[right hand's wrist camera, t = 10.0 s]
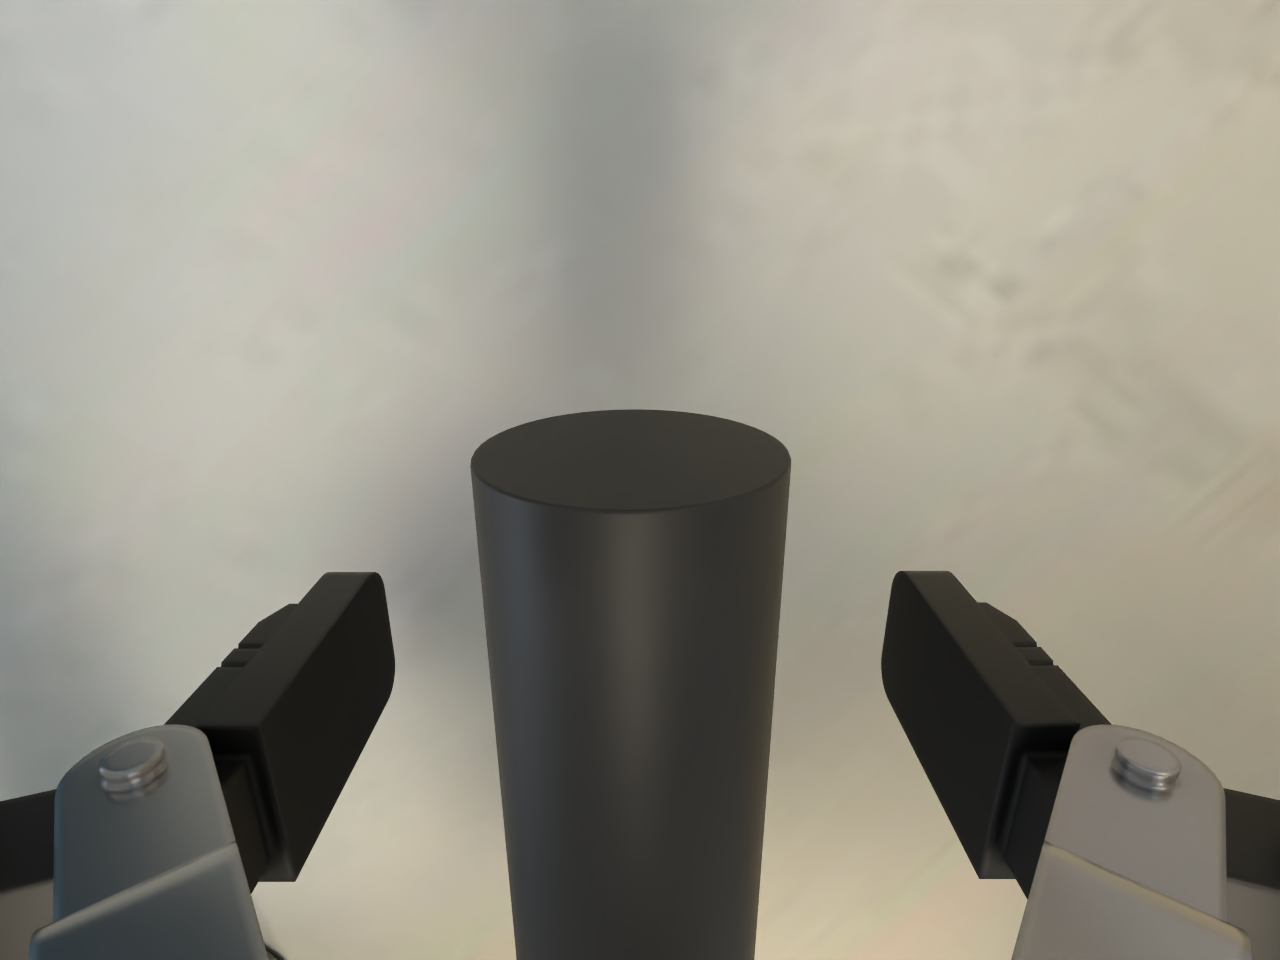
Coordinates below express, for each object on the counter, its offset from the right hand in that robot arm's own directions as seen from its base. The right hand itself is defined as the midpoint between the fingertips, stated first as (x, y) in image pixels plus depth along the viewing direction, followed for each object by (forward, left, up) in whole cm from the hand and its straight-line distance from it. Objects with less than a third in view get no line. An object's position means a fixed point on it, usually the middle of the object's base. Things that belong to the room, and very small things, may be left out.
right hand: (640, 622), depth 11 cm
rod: (-12, +3, -6) cm, 14 cm away
